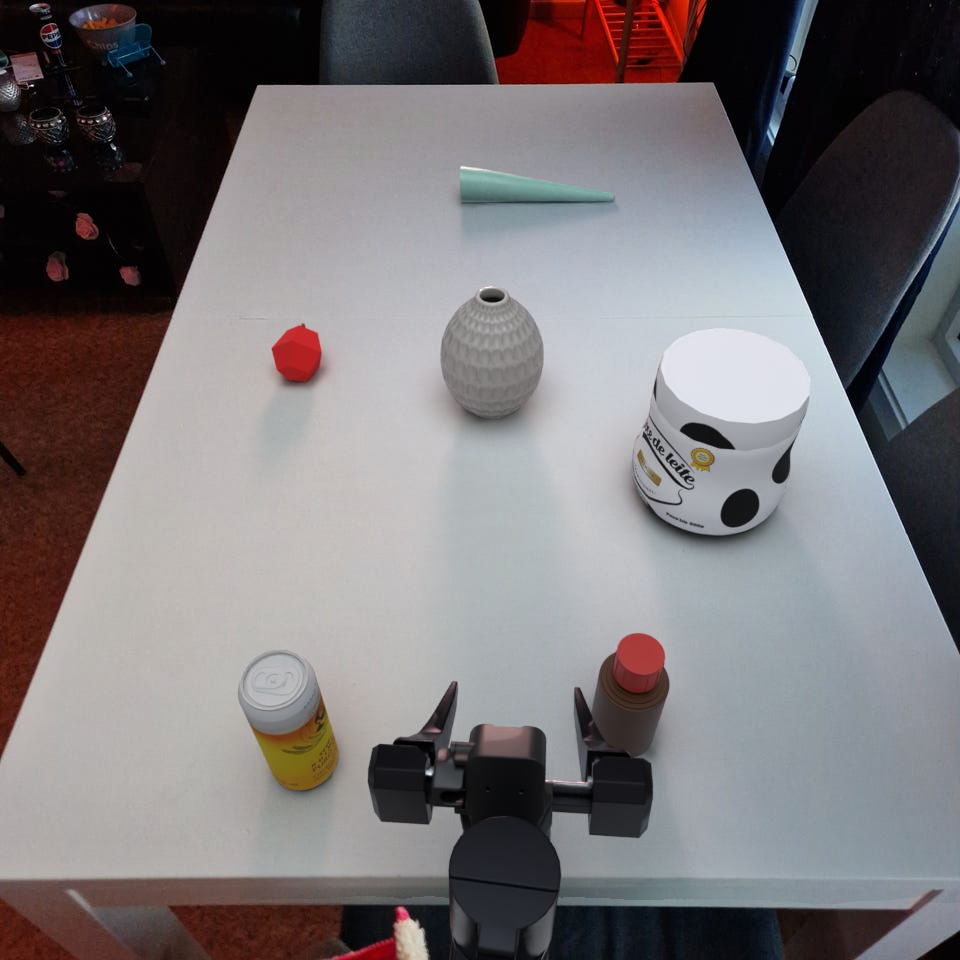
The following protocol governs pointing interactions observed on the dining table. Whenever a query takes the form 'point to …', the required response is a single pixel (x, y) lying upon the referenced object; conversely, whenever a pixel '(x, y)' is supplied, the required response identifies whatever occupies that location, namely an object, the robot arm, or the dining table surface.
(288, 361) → the apple
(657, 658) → the cap
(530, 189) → the long green cone
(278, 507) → the dining table surface
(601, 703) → the bottle
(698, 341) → the milk container
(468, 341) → the vase
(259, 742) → the beer can
